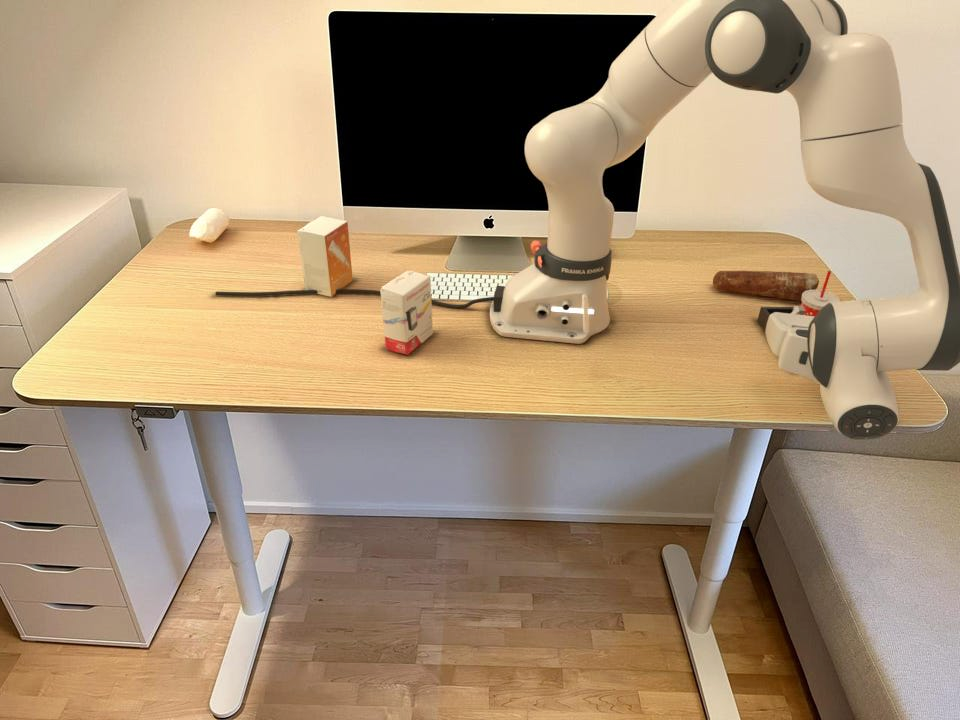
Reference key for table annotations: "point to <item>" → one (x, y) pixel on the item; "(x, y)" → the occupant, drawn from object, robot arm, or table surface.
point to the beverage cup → (817, 299)
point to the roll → (209, 225)
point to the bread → (766, 283)
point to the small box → (325, 255)
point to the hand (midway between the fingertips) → (828, 313)
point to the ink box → (407, 311)
